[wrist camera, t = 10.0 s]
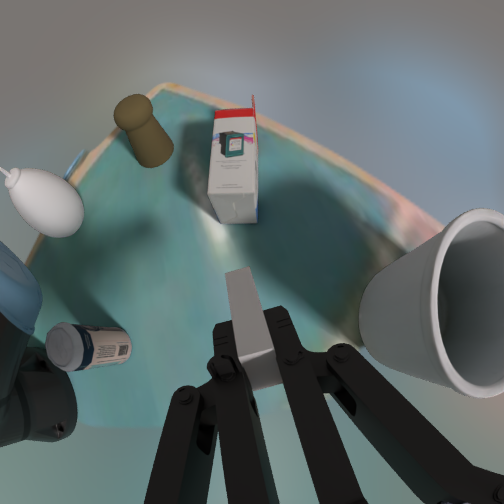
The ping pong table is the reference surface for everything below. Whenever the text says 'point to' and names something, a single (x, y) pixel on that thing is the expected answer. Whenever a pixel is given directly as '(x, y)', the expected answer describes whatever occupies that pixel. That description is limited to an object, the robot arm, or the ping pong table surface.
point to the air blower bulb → (45, 201)
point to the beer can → (86, 346)
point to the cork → (143, 131)
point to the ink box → (234, 166)
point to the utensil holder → (443, 308)
